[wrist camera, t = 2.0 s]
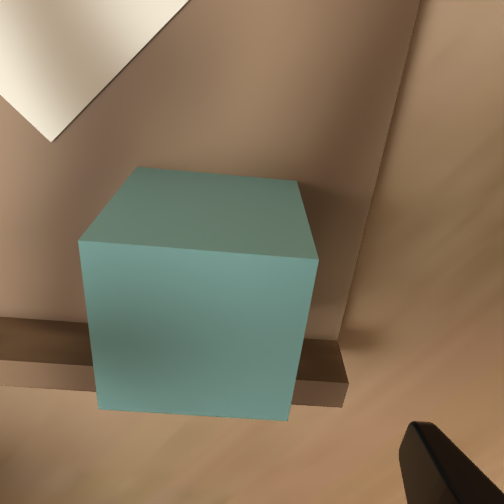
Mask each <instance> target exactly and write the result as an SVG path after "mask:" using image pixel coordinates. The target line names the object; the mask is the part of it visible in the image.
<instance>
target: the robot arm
mask: <svg viewBox="0 0 504 504" xmlns="http://www.w3.org/2000/svg"><path fill="white" fill-rule="evenodd" d="M399 462H400V467H401V472H402V478H403V483H404V488H405V493H406V499H407V504H504V493H503V492H502V491H501V490H500V489H499V488H498V487H497V486H496V485H495V484H494V483H493V482H492V481H491V480H490V479H489V478H488V477H487V476H486V475H485V474H484V473H483V472H482V471H481V470H480V469H479V468H478V467H477V466H476V465H475V464H474V463H473V462H472V461H471V460H470V459H469V458H468V457H467V456H466V455H465V454H464V453H463V452H462V451H461V450H460V449H459V448H458V447H457V446H456V445H455V444H454V443H453V442H452V441H451V440H450V439H449V438H448V437H447V436H446V435H445V434H444V433H443V432H442V431H441V430H440V429H439V428H438V427H437V426H436V425H434V424H433V423H431V422H420V421H412V422H411V423H410V424H409V426H408V428H407V430H406V433H405V435H404V438H403V440H402V443H401V445H400V448H399Z"/></svg>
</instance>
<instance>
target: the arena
mask: <svg viewBox="0 0 504 504" xmlns="http://www.w3.org/2000/svg"><path fill="white" fill-rule="evenodd" d="M419 4H420V0H0V386H14V387H29V388H45V389H60V390H76V391H91V392H96V384H95V376H94V367H93V359H92V351H91V343H90V335H89V327H88V318H87V310H86V302H85V294H84V286H83V277H82V269H81V261H80V253H79V245H78V240H79V238H80V237H81V236H82V235H83V233H84V232H85V231H86V230H87V228H88V227H89V226H90V225H91V223H92V222H93V221H94V220H95V218H96V217H97V216H98V215H99V213H100V212H101V211H102V210H103V208H104V207H105V206H106V205H107V203H108V202H109V201H110V200H111V198H112V197H113V196H114V195H115V193H116V192H117V191H118V190H119V188H120V187H121V186H122V185H123V183H124V182H125V181H126V180H127V178H128V177H129V176H130V175H131V173H132V172H133V171H134V170H135V168H136V167H146V168H157V169H168V170H180V171H191V172H202V173H214V174H225V175H237V176H248V177H259V178H271V179H282V180H294V181H297V184H298V187H299V191H300V194H301V198H302V201H303V205H304V208H305V212H306V215H307V219H308V223H309V226H310V230H311V233H312V237H313V240H314V244H315V247H316V251H317V254H318V258H319V262H318V267H317V272H316V277H315V283H314V288H313V293H312V298H311V303H310V308H309V314H308V319H307V324H306V329H305V334H304V339H303V345H302V350H301V355H300V360H299V365H298V370H297V376H296V381H295V386H294V391H293V396H292V401H291V404H293V405H309V406H324V407H340V408H342V406H343V402H344V399H345V395H346V392H347V388H348V384H349V382H348V378H347V375H346V371H345V367H344V364H343V360H342V356H341V352H340V349H339V345H338V341H337V340H338V336H339V332H340V328H341V324H342V320H343V316H344V312H345V307H346V303H347V299H348V295H349V291H350V287H351V283H352V279H353V275H354V271H355V266H356V262H357V258H358V254H359V250H360V246H361V242H362V238H363V234H364V230H365V225H366V221H367V217H368V213H369V209H370V205H371V201H372V197H373V193H374V189H375V184H376V180H377V176H378V172H379V168H380V164H381V160H382V156H383V152H384V148H385V144H386V139H387V135H388V131H389V127H390V123H391V119H392V115H393V111H394V107H395V103H396V98H397V94H398V90H399V86H400V82H401V78H402V74H403V70H404V66H405V62H406V57H407V53H408V49H409V45H410V41H411V37H412V33H413V29H414V25H415V21H416V16H417V12H418V8H419Z"/></svg>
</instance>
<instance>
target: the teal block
mask: <svg viewBox="0 0 504 504" xmlns="http://www.w3.org/2000/svg"><path fill="white" fill-rule="evenodd" d="M78 245H79V253H80V261H81V269H82V277H83V286H84V294H85V302H86V310H87V318H88V327H89V335H90V343H91V351H92V359H93V367H94V376H95V384H96V392H97V400H98V408H99V409H102V410H118V411H134V412H150V413H166V414H182V415H197V416H213V417H229V418H245V419H261V420H277V421H288V417H289V412H290V407H291V401H292V396H293V391H294V386H295V381H296V376H297V370H298V365H299V360H300V355H301V350H302V345H303V339H304V334H305V329H306V324H307V319H308V314H309V308H310V303H311V298H312V293H313V288H314V283H315V277H316V272H317V267H318V262H319V258H318V254H317V251H316V247H315V244H314V240H313V237H312V233H311V230H310V226H309V223H308V219H307V215H306V212H305V208H304V205H303V201H302V198H301V194H300V191H299V187H298V184H297V181H294V180H282V179H271V178H259V177H248V176H237V175H225V174H214V173H202V172H191V171H180V170H168V169H157V168H146V167H136V168H135V170H134V171H133V172H132V173H131V175H130V176H129V177H128V178H127V180H126V181H125V182H124V183H123V185H122V186H121V187H120V188H119V190H118V191H117V192H116V193H115V195H114V196H113V197H112V198H111V200H110V201H109V202H108V203H107V205H106V206H105V207H104V208H103V210H102V211H101V212H100V213H99V215H98V216H97V217H96V218H95V220H94V221H93V222H92V223H91V225H90V226H89V227H88V228H87V230H86V231H85V232H84V233H83V235H82V236H81V237H80V238H79V240H78Z"/></svg>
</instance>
